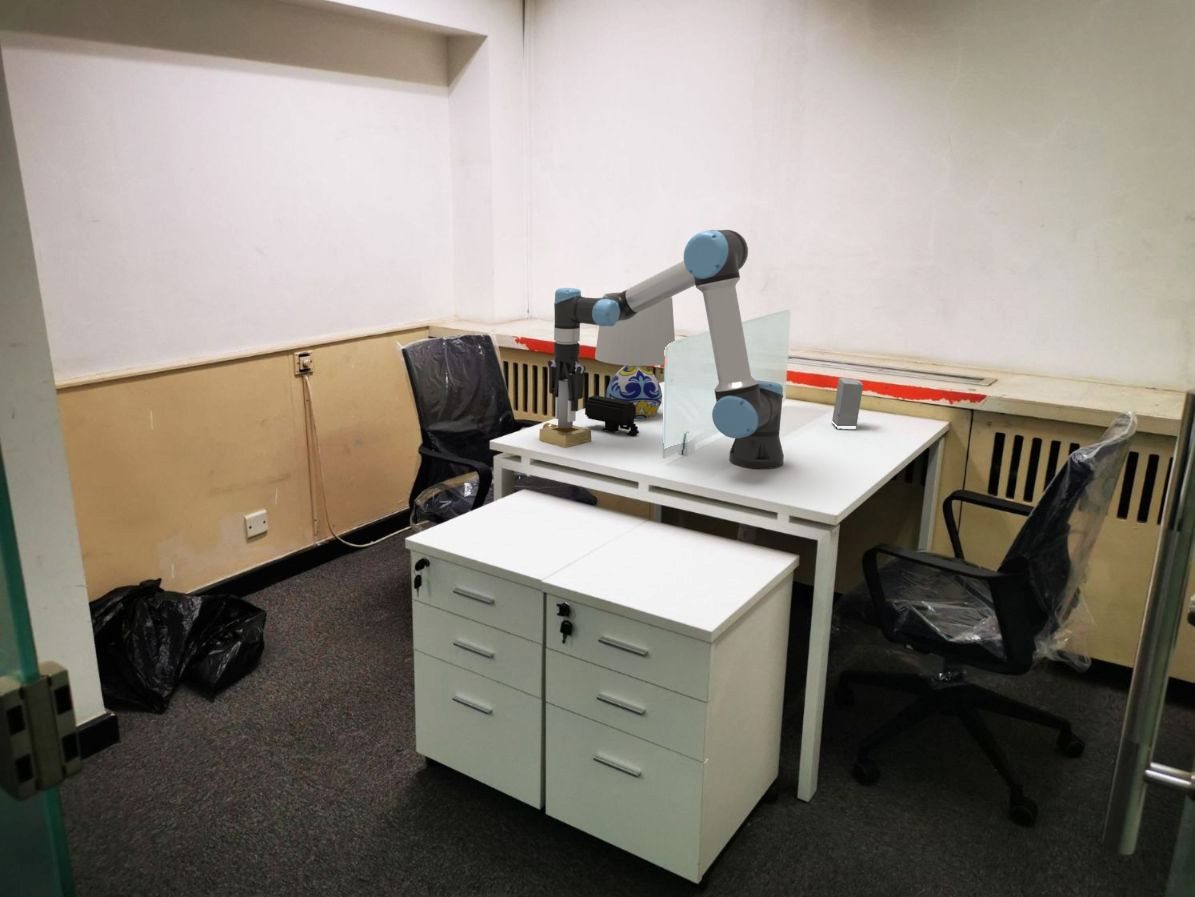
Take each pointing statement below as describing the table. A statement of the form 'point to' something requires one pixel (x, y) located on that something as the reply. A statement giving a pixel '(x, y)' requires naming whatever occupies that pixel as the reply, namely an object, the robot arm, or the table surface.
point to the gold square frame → (564, 435)
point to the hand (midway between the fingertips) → (565, 419)
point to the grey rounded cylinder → (563, 405)
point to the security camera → (612, 414)
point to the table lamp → (637, 355)
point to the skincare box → (847, 402)
